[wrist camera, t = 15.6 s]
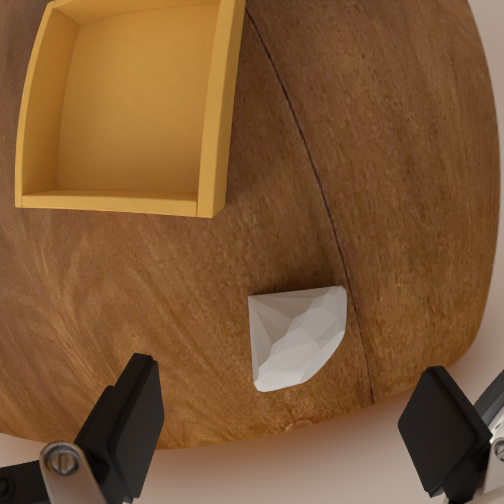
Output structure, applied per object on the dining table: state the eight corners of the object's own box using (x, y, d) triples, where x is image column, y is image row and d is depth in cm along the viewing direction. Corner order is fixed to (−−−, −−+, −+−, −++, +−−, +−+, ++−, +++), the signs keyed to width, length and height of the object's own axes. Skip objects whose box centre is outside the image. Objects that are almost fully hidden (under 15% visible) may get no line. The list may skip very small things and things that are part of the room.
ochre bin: (246, 0, 11) (241, -36, 8) (224, 206, 14) (212, 218, 11) (78, 22, 11) (47, 2, 8) (54, 198, 14) (14, 207, 11)
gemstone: (216, 250, 12) (317, 329, 9) (302, 237, 16) (379, 286, 13) (188, 356, 14) (256, 427, 11) (266, 323, 19) (326, 372, 16)
